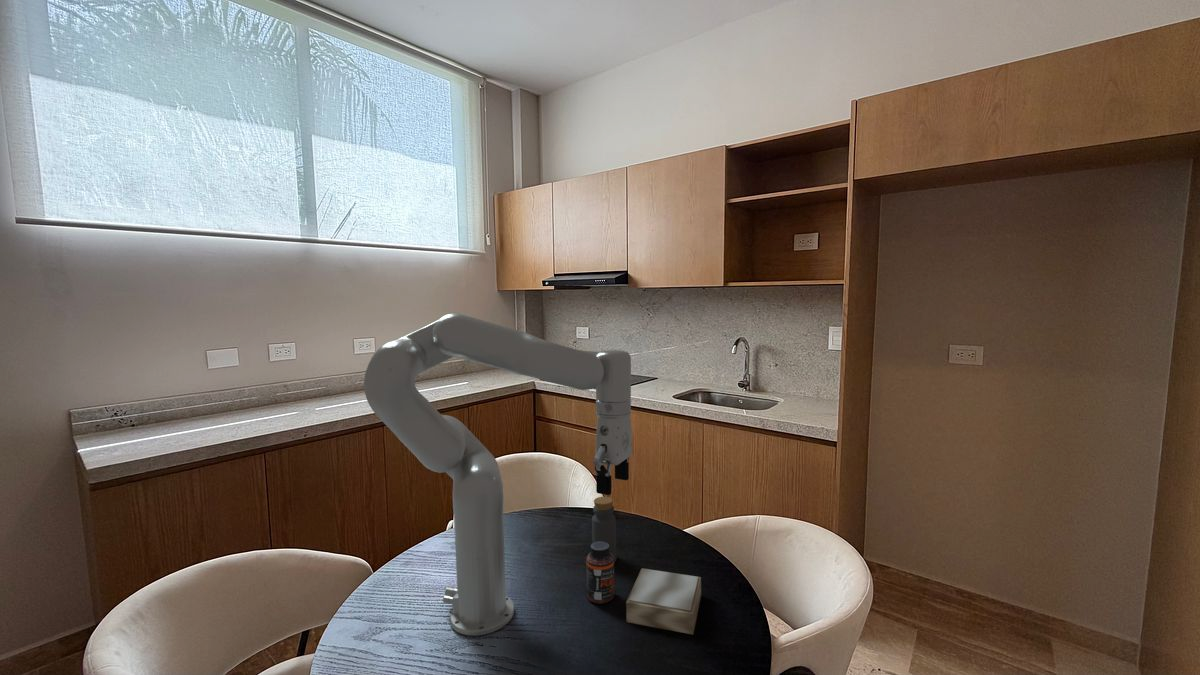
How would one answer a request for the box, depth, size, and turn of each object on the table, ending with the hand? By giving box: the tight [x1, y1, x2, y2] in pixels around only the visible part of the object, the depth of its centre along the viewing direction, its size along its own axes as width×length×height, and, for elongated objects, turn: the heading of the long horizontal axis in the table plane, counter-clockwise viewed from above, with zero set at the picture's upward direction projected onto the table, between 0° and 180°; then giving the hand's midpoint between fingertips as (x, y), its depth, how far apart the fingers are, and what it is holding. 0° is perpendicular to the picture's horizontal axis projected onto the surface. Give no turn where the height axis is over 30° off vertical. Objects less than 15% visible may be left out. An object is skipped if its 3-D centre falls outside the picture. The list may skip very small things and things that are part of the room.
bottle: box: [591, 496, 617, 563], centre depth 117 cm, size 6×6×15 cm
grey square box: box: [625, 567, 702, 635], centre depth 98 cm, size 13×13×4 cm
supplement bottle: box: [586, 542, 615, 605], centre depth 102 cm, size 6×6×11 cm
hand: (613, 486), depth 103 cm, fingers open, 9 cm apart
